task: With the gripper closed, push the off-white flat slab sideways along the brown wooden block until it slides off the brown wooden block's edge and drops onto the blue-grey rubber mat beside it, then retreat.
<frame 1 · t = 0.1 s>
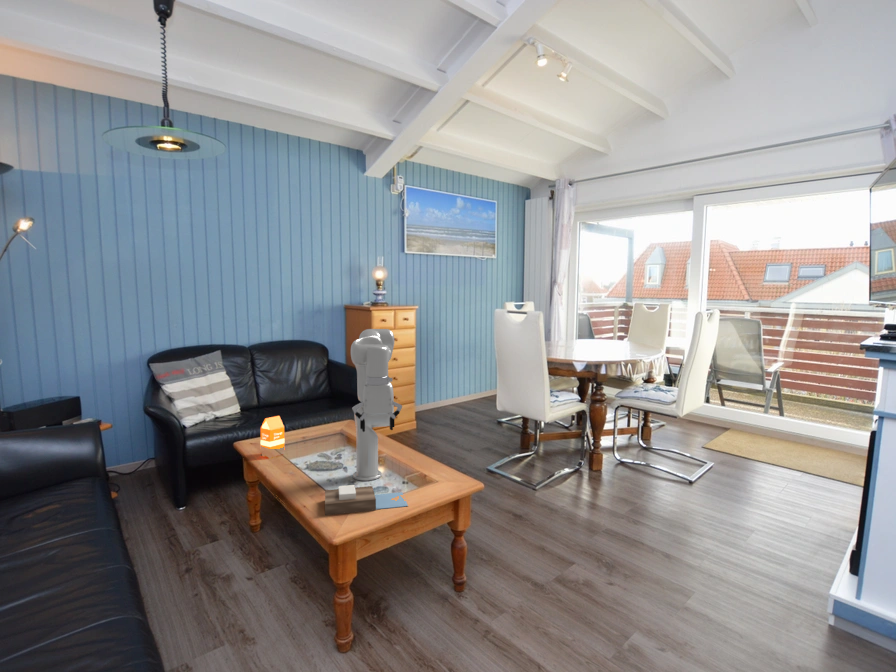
hand: (377, 430, 159), 31 cm above the table, fingers open, 9 cm apart
off-white flat slab: (347, 492, 171), point 5 cm above the table, touching brown wooden block
mat: (389, 500, 176), on the table
brown wooden block: (349, 505, 171), on the table
orange juice: (272, 455, 235), on the table
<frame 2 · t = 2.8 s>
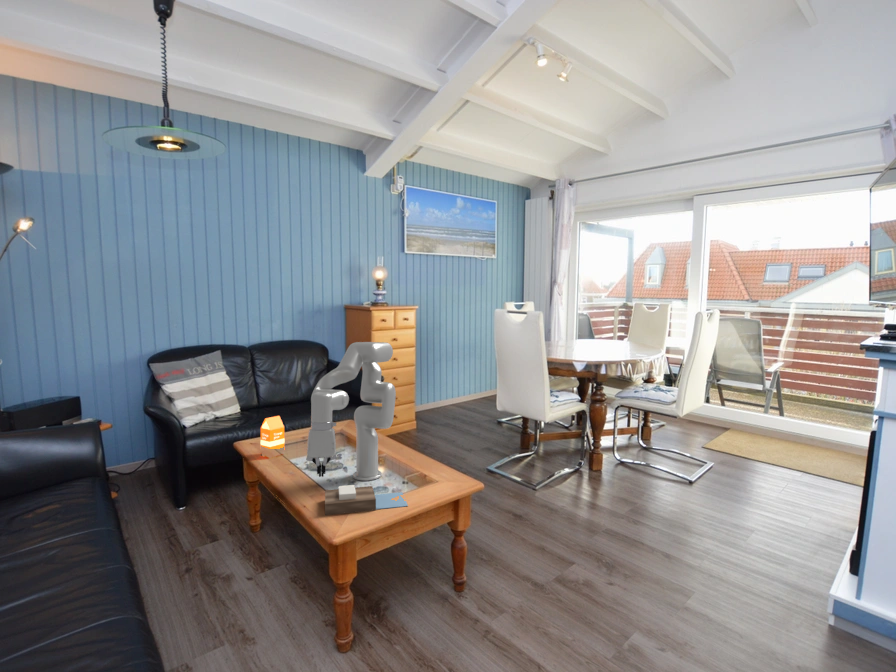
hand: (321, 475, 168), 12 cm above the table, fingers closed
nothing on the table moved.
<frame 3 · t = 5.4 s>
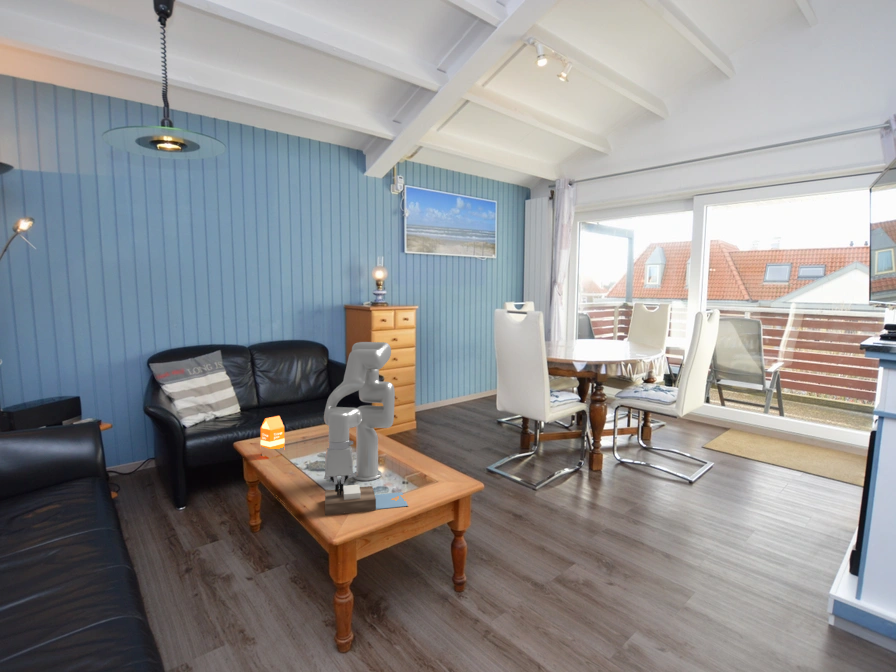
hand: (339, 493, 170), 5 cm above the table, fingers closed
off-white flat slab: (351, 491, 171), point 5 cm above the table, touching brown wooden block, gripper
everything else where it was.
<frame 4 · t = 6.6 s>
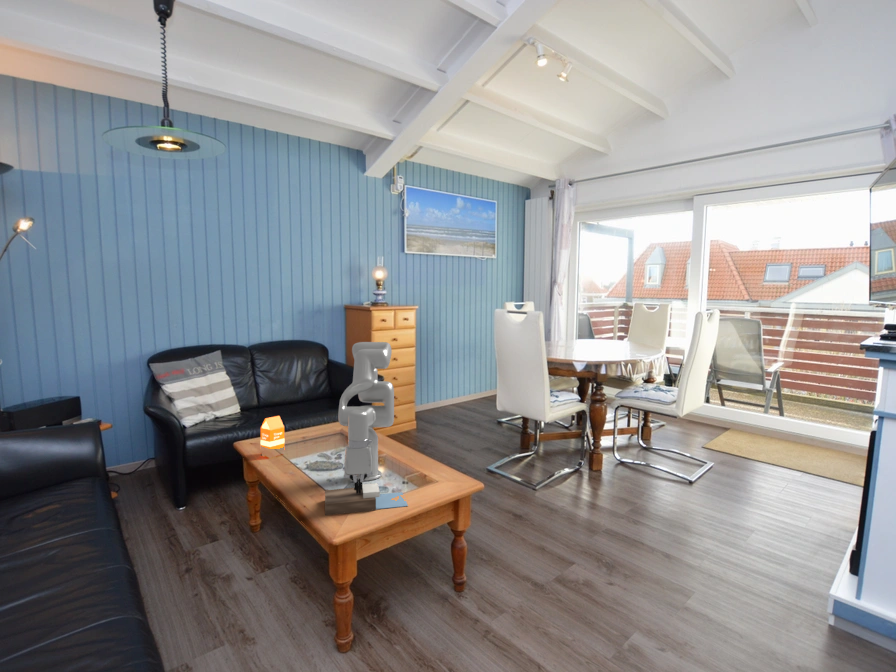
hand: (358, 491, 172), 5 cm above the table, fingers closed
off-white flat slab: (370, 490, 173), point 5 cm above the table, touching gripper
everything else where it was.
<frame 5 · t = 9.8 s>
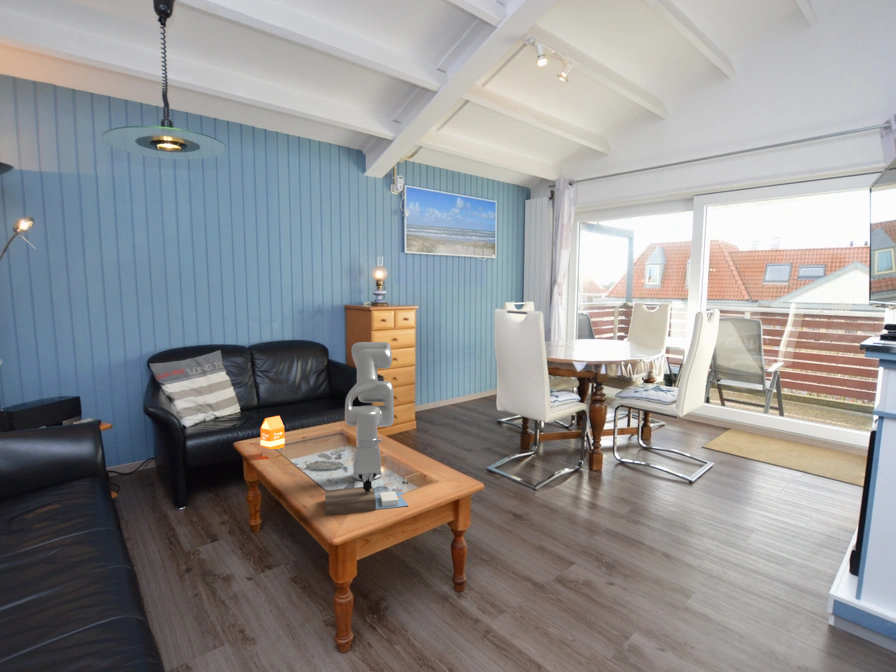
hand: (367, 490, 173), 5 cm above the table, fingers closed
off-white flat slab: (388, 498, 174), point 1 cm above the table, tilted 180°, touching mat
everything else where it was.
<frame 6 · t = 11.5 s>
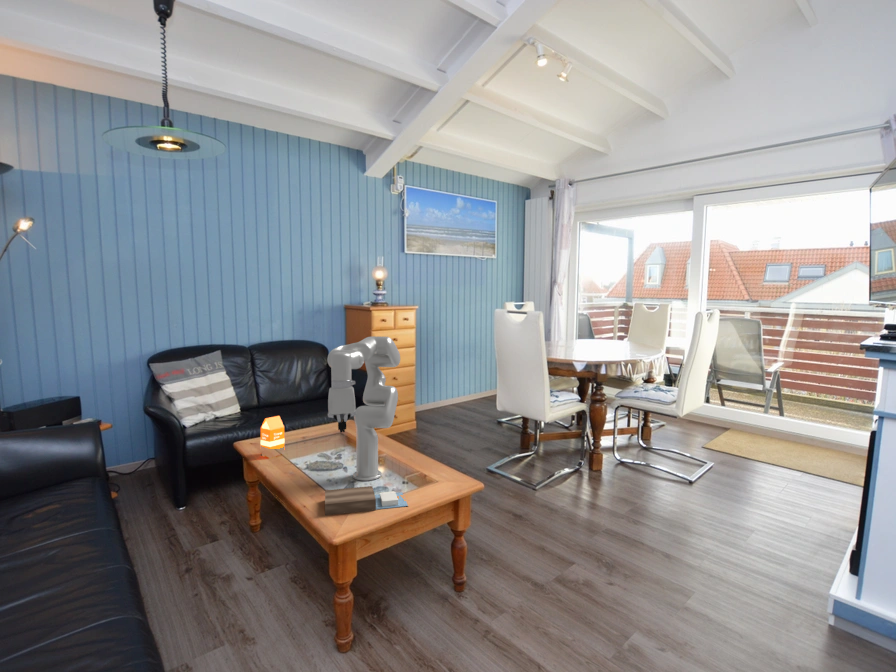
hand: (342, 431, 176), 27 cm above the table, fingers closed
nothing on the table moved.
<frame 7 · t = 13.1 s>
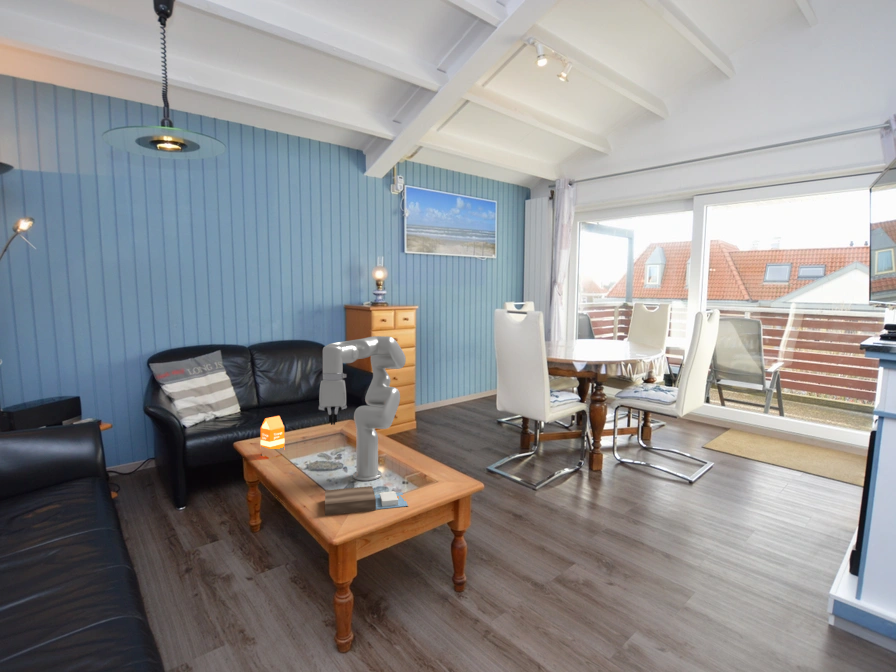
hand: (332, 424, 178), 29 cm above the table, fingers closed
nothing on the table moved.
at the end: off-white flat slab point 1.3 cm above the table; off-white flat slab inside the target area (1.8 cm from its centre), point 1.3 cm above the table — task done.
